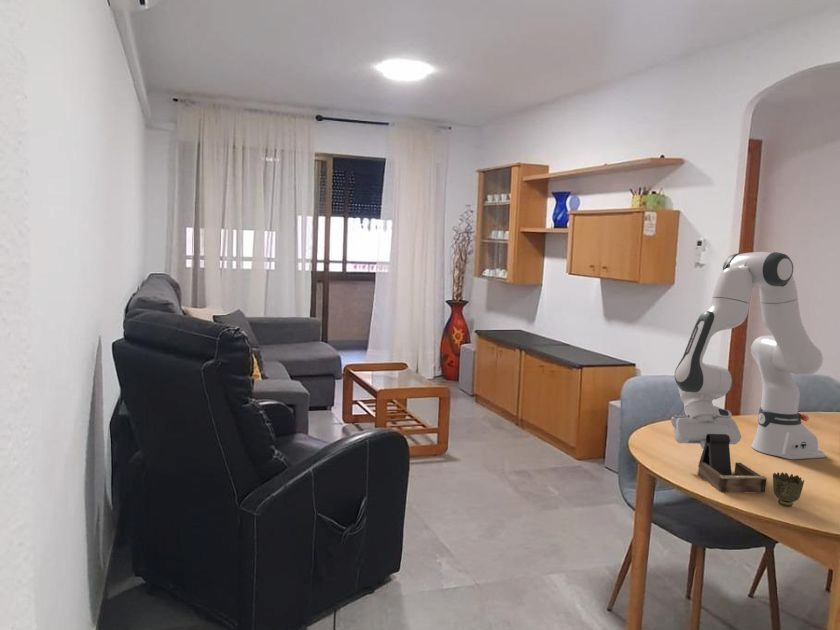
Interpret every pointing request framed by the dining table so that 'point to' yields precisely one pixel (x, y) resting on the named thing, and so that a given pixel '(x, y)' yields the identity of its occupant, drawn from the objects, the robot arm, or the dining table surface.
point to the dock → (734, 479)
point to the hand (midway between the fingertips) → (713, 455)
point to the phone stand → (717, 453)
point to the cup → (787, 488)
